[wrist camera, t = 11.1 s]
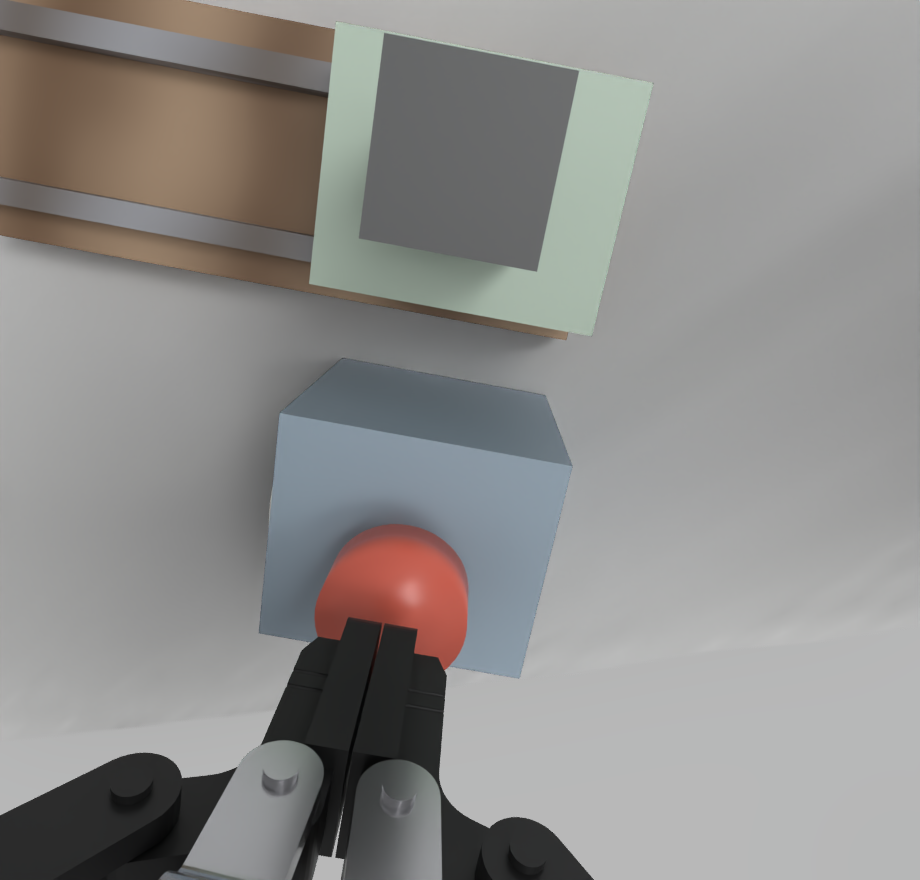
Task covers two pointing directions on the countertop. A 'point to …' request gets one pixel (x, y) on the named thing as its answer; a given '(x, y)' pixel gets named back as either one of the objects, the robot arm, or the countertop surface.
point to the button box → (418, 494)
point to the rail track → (171, 138)
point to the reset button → (399, 588)
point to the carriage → (472, 178)
